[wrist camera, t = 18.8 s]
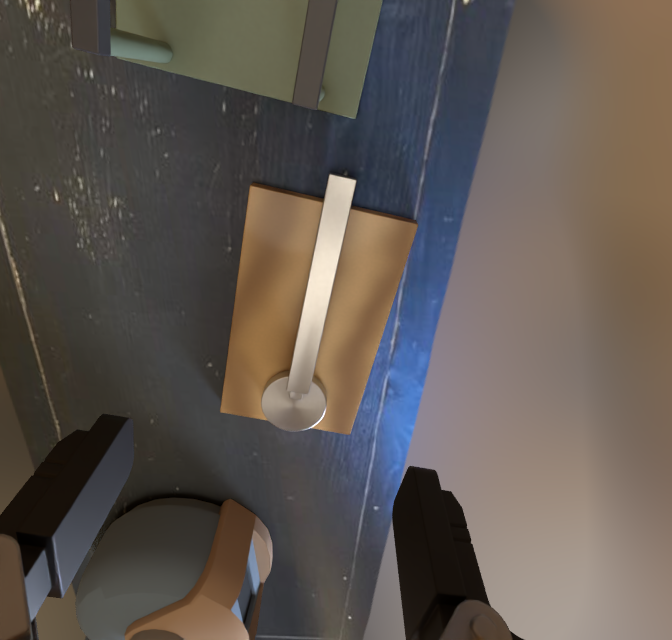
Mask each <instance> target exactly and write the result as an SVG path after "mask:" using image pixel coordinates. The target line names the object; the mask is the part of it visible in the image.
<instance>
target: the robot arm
mask: <svg viewBox="0 0 672 640" xmlns="http://www.w3.org/2000/svg"><path fill="white" fill-rule="evenodd" d="M133 459H134V440H133V420H132V419H131V418H126V417H120V416H114V415H108V414H102V415H101V416H100V417H99V418H98V419H97V421H96V422H95V424H94V425H93V426H92V428H91V429H90V430H89V431H83V430H76V431H74V432H73V433H71V434H70V435H68V436H67V437H65V438H64V439H62V440H61V441H59V442H58V443H57V444H56V446H55V447H54V448H53V449H52V451H51V452H50V453H49V454H48V456H47V457H46V458H45V461H44V462H42V463H41V464H40V466H39V467H38V468H37V470H36V471H35V472H34V475H33V476H31V477H30V478H29V480H28V481H27V482H26V483H25V485H24V486H23V487H22V489H21V490H20V491H19V492H18V493H17V495H16V496H15V497H14V499H13V500H12V501H11V502H10V504H9V505H8V506H7V507H6V509H5V510H4V511H3V512H2V514H1V515H0V640H39V639H38V632H37V623H36V617H35V616H36V614H37V612H38V610H39V609H40V607H41V605H42V603H43V602H44V600H45V598H46V596H48V597H56V598H63V596H64V594H65V592H66V591H67V589H68V587H69V585H70V583H71V581H72V580H73V578H74V576H75V574H76V572H77V570H78V569H79V567H80V565H81V563H82V561H83V559H84V558H85V556H86V554H87V552H88V550H89V548H90V547H91V545H92V543H93V541H94V539H95V537H96V536H97V534H98V532H99V530H100V528H101V526H102V525H103V523H104V521H105V519H106V517H107V515H108V514H109V512H110V510H111V508H112V506H113V504H114V502H115V501H116V499H117V497H118V495H119V493H120V491H121V490H122V488H123V486H124V484H125V482H126V480H127V478H128V476H129V474H130V471H131V468H132V464H133ZM392 520H393V530H394V538H395V547H396V556H397V564H398V574H399V582H400V591H401V600H402V608H403V617H404V626H405V635H406V640H524V639H521V638H520V637H518V636H516V635H515V634H514V633H512V632H511V631H510V630H509V628H508V626H507V624H506V623H505V621H504V620H503V619H502V617H501V616H500V615H499V614H498V613H497V612H496V611H495V610H494V609H493V608H492V607H491V606H490V604H489V601H488V598H487V595H486V592H485V587H484V584H483V580H482V577H481V573H480V570H479V566H478V563H477V559H476V555H475V552H474V548H473V545H472V544H471V538H470V534H469V531H468V529H467V523H466V520H465V516H464V513H463V509H462V507H461V506H460V504H459V503H458V501H457V500H456V498H455V497H454V495H453V494H452V492H451V491H445V490H441V487H440V483H439V479H438V475H437V472H436V471H435V470H432V469H426V468H420V467H414V466H409V467H408V469H407V472H406V474H405V476H404V478H403V481H402V483H401V486H400V488H399V490H398V493H397V495H396V498H395V500H394V505H393V513H392Z"/></svg>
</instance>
